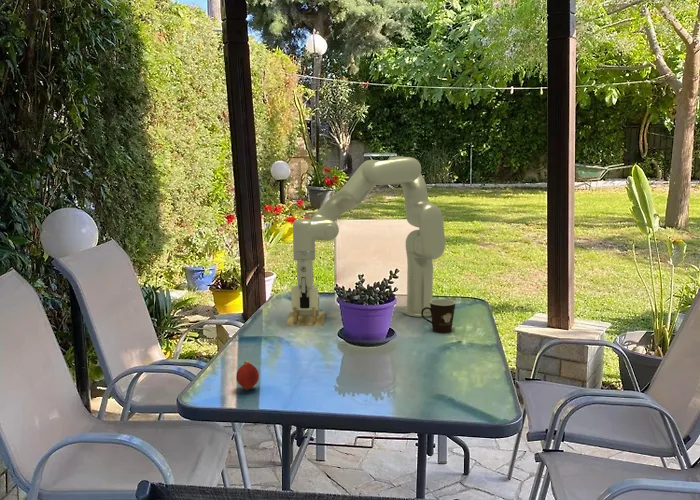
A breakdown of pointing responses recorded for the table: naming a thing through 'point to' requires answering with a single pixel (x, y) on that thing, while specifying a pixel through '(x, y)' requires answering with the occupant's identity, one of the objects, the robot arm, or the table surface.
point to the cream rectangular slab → (311, 294)
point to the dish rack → (305, 318)
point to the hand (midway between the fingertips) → (305, 306)
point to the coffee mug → (441, 315)
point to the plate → (309, 312)
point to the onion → (247, 375)
